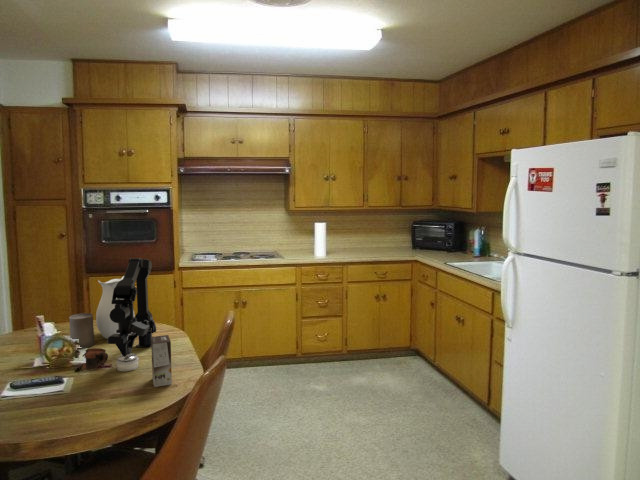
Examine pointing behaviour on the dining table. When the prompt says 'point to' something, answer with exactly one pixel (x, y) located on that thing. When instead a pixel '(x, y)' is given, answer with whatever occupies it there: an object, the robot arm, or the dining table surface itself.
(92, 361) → the pottery mug
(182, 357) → the dining table surface
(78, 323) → the pillar candle
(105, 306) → the pitcher
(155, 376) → the coffee box
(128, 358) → the plunger
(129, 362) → the press
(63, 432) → the dining table surface
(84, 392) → the dining table surface
